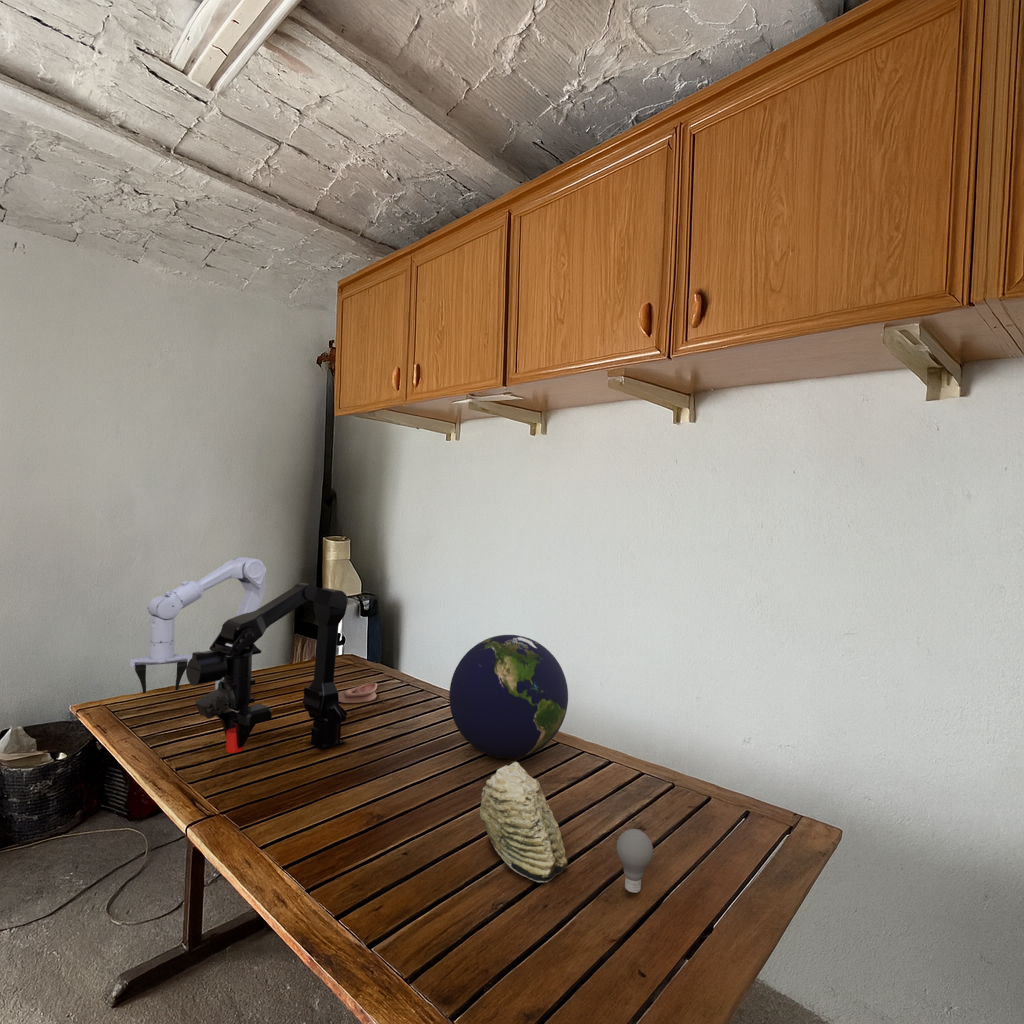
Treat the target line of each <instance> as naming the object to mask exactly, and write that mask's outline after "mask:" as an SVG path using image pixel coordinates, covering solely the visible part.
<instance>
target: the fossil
mask: <svg viewBox="0 0 1024 1024" xmlns="http://www.w3.org/2000/svg"><path fill="white" fill-rule="evenodd" d="M479 819H480V820H481V822H482V823H483V827H484V829H485V832H486V833H487V836H488V838H489V840H490V842H491V844H492V845H493V848H494V850H495V852H496V853H497V854H498V856H500V858H501V859H502V861H503V862H504V863H505V864H506V865H507V867H509V868H510V869H511V870H513V871H514V873H517V874H519V875H520V876H522V877H525V878H527V879H528V880H531V881H533V882H536V883H548V882H550V881H552V880H553V879H554V878H555V877H556V876H557V875H560V874H561V873H563V872H564V871H565V870H566V868H567V867H568V866H569V863H568V859H567V856H566V848H565V847H564V841H563V838H562V834H561V831H560V826H559V824H558V822H557V821H556V818H555V817H554V813H553V811H552V810H551V807H550V805H549V803H548V802H547V799H546V796H545V794H544V790H543V789H542V786H541V784H540V781H539V780H537V779H535V778H533V777H532V776H531V775H529V773H528V772H527V771H526V769H524V768H523V766H521V764H520V763H519V762H518V761H513V762H512V763H511V764H509V765H507V764H506V765H504V766H502V767H500V768H498V769H497V770H496V772H495V773H494V774H492V775H491V776H490V778H489V779H487V780H486V782H485V786H483V788H482V792H481V802H480V808H479Z"/></svg>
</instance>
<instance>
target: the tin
mask: <svg viewBox="0 0 1024 1024" xmlns="http://www.w3.org/2000/svg"><path fill="white" fill-rule="evenodd" d="M243 750H245V745H244V746H243V747H241V748H238V746H237V737H236V728H231V729H229V730H227V732H226V735H225V752H226V753H230V754H236V753H240V752H242V751H243Z"/></svg>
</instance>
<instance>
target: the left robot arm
mask: <svg viewBox="0 0 1024 1024" xmlns="http://www.w3.org/2000/svg"><path fill="white" fill-rule="evenodd" d="M267 569H268V568H267V567H266V566H265V564H264V562H263V561H262V560H261V559H258V558H251V557H245V556H242V555H238V556H234V557H233V558H232V559H229V560H227V561H226V562H225V563H224V564H223V565H220V566H219V567H218V568H216V569H214V570H213V571H211V572H209V573H208V574H206V575H205V576H203V577H202V578H200V579H198V580H196V581H194V580H184V581H181V583H180V585H179V586H178V587H176V588H174V589H172V590H168V591H165V592H164V595H157V596H155V597H153V598H152V599H151V601H150V602H149V604H148V605H147V607H146V610H147V612H148V614H149V615H150V617H151V618H150V642H149V655H147V656H140V657H131V658H130V663H129V665H130V666H129V667H130V668H134V671H135V674H136V676H137V677H138V679H139V682H140V685H141V689H142V694H146V693H147V666H155V665H170V664H176V678H175V687H174V689H175V691H179V687H180V683H181V680H182V678H183V675H184V673H185V672H186V667H187V665H188V662H189V660H190V659H192V653H180V654H178V653H175V633H176V632H175V631H176V617H177V616H178V615H179V612H180V611H182V610H183V609H185V608H186V607H189V606H190V605H191V604H193V603H195V602H197V601H199V600H200V599H201V598H202V597H203V594H204V592H205V591H207V590H209V589H211V588H213V587H216V586H217V585H219V584H220V583H223V582H225V581H227V580H229V579H237V580H238V581H239V582H240V585H242V587H243V589H244V593H243V596H242V598H241V600H240V603H239V607H238V609H237V612H236V614H235V617H236V616H239V615H241V614H245V613H250V612H253V611H255V610H257V609H259V608H261V604H262V601H263V598H264V596H265V593H266V589H267V585H266V574H267ZM225 645H227V646H230V647H232V645H231V644H228V643H227V644H225ZM221 680H224V677H223V678H222V679H221ZM221 680H218V681H214V683H215V684H214V691H215V690H217V689H218V683H219V681H221Z"/></svg>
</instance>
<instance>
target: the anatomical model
mask: <svg viewBox="0 0 1024 1024" xmlns="http://www.w3.org/2000/svg"><path fill="white" fill-rule="evenodd" d="M377 688H378V683H377V682H370V683H366V684H363V685H359V686H356V687H353V688H349V689H346V690H343V691H340V692H338V696H339V703H342V704H344V703H345V704H355V703H357V704H358V703H366V702H370V701H374V700H375V699H376V698H377V696H378V695H377V693H376V691H377Z"/></svg>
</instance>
